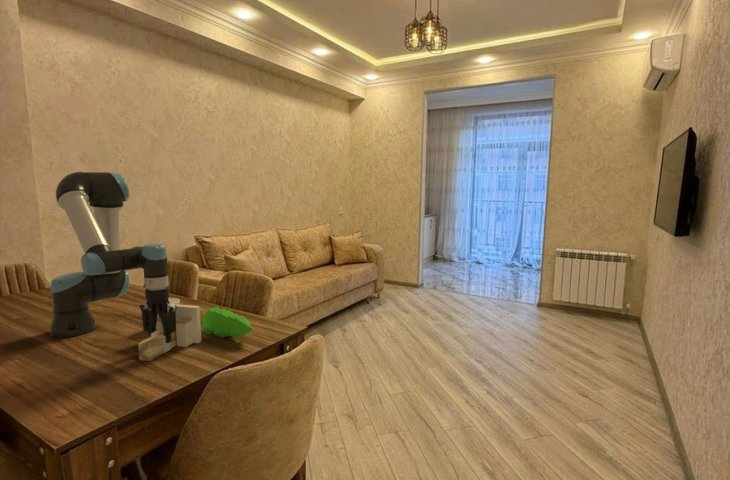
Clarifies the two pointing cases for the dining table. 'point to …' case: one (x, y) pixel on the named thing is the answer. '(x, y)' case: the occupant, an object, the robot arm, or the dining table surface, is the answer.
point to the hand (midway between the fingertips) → (161, 350)
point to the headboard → (185, 325)
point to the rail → (154, 346)
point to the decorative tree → (224, 323)
